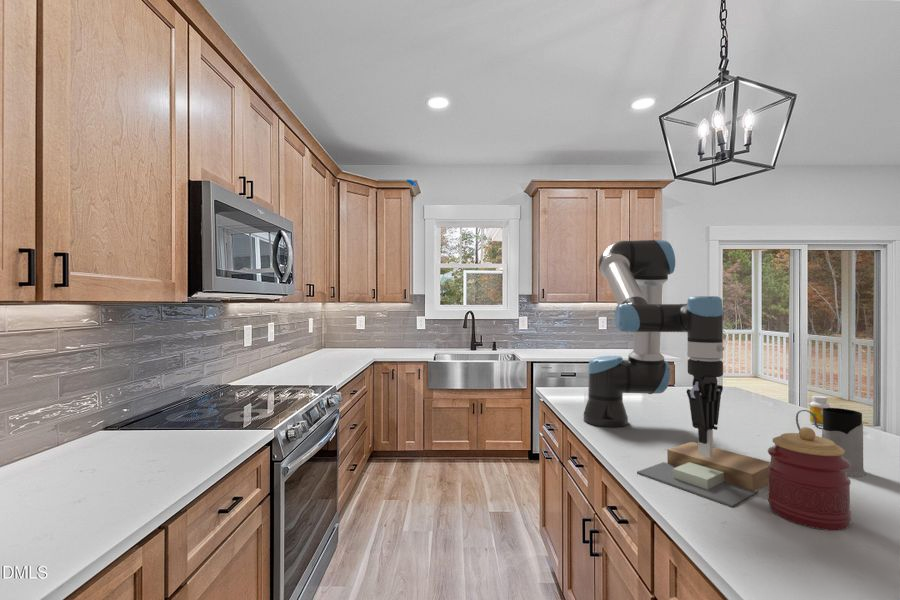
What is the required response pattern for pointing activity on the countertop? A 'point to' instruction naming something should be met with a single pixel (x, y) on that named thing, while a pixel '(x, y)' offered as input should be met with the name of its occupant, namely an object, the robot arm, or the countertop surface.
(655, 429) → the countertop surface
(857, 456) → the glass holder
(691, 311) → the robot arm
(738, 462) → the plate
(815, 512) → the canister
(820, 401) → the supplement bottle
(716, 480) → the coaster
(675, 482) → the mat
